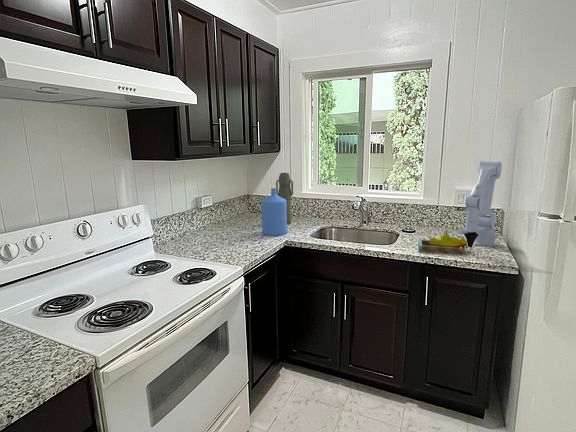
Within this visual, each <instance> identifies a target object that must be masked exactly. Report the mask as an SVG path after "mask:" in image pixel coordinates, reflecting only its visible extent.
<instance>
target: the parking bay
mask: <svg viewBox="0 0 576 432" xmlns="http://www.w3.org/2000/svg"><path fill="white" fill-rule="evenodd" d="M417 241H418V242H417V249H418V252H421V253H434V254H436V253H437V254H445V255H446V254H448V255H458V254H459V256H460V255H461V256H463V255H464V250H463V248H462V247H458V248H454V247H440V246H433V245H432V244H430V239H418V240H417Z"/></svg>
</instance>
